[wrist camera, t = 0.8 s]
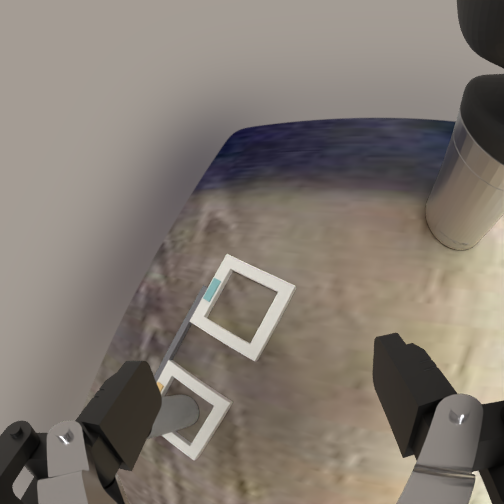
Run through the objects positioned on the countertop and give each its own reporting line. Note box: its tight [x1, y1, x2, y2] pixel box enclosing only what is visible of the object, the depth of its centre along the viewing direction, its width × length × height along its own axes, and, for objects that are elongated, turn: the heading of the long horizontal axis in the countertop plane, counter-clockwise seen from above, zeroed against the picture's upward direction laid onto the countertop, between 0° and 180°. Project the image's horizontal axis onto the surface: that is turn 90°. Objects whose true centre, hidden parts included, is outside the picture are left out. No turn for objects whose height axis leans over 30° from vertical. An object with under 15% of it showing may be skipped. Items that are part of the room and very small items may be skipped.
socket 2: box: [190, 254, 296, 361], centre depth 35 cm, size 10×10×1 cm
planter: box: [147, 395, 199, 439], centre depth 28 cm, size 4×4×10 cm
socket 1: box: [157, 360, 233, 460], centre depth 32 cm, size 10×10×1 cm
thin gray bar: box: [154, 285, 208, 383], centre depth 36 cm, size 16×1×1 cm, turn 150°
